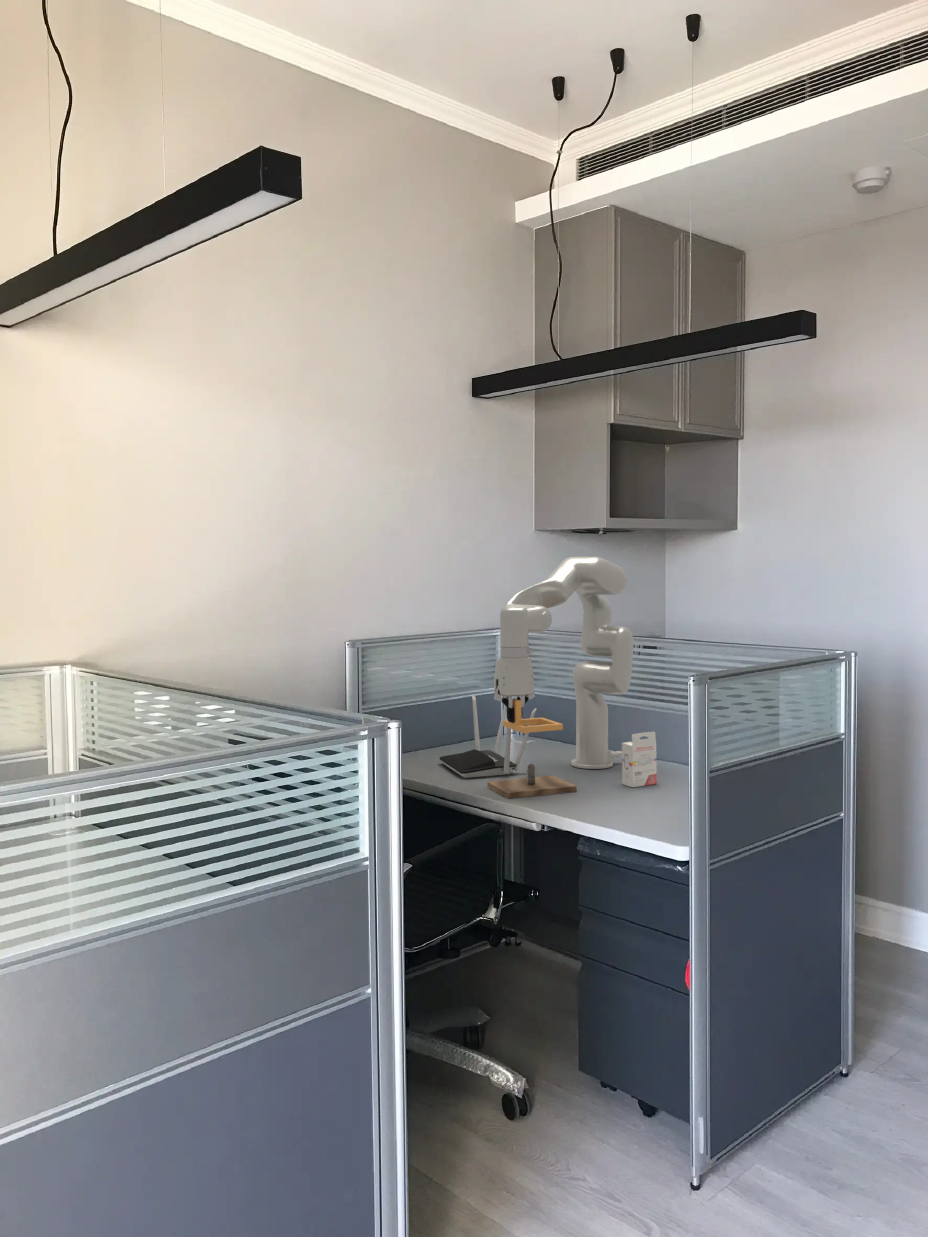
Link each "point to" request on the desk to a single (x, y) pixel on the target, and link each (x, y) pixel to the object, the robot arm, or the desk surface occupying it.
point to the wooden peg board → (531, 785)
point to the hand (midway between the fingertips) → (514, 721)
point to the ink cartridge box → (639, 760)
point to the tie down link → (530, 722)
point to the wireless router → (485, 754)
